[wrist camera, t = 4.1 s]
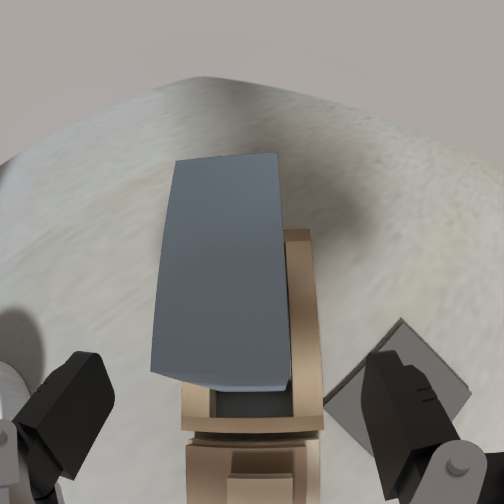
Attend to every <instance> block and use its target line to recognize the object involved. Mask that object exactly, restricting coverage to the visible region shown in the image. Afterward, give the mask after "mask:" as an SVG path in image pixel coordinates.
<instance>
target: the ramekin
mask: <svg viewBox="0 0 504 504" xmlns="http://www.w3.org/2000/svg"><path fill="white" fill-rule="evenodd" d="M29 399H30V394H29V391H28V389H27V386H26V384H25V383H24V381H23V379H22V377H21V376H20V375H19V374H18V372H17V371H16V370H15V369H14V368H12V367H11V366H9V365H8V364H6V363H4V362H2V361H0V419H5V420H9V421H12V420H13V419H14V417H15V416H16V415H17V414H18V412H19V411H20V410H21V409H22V407H23V406H24V405H25V404H26V402H27V401H28V400H29Z"/></svg>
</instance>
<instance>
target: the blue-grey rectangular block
mask: <svg viewBox="0 0 504 504" xmlns="http://www.w3.org/2000/svg"><path fill="white" fill-rule="evenodd" d="M150 371H151V372H154V373H157V374H160V375H163V376H167V377H170V378H173V379H177V380H180V381H184V382H187V383H191V384H195V385H198V386H202V387H206V388H210V389H214V390H218V391H222V392H272V391H285V388H286V385H287V382H288V378H289V375H290V355H289V331H288V310H287V290H286V273H285V256H284V241H283V226H282V212H281V198H280V186H279V173H278V161H277V152H273V153H256V154H242V155H229V156H218V157H207V158H197V159H188V160H180V161H176V163H175V169H174V174H173V180H172V185H171V191H170V197H169V203H168V209H167V215H166V222H165V229H164V236H163V243H162V250H161V258H160V266H159V274H158V283H157V293H156V302H155V313H154V325H153V337H152V352H151V369H150Z"/></svg>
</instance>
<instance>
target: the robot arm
mask: <svg viewBox="0 0 504 504" xmlns="http://www.w3.org/2000/svg"><path fill="white" fill-rule="evenodd" d="M114 402H115V394H114V389H113V387H112V384H111V382H110V379H109V377H108V374H107V371H106V369H105V366H104V363H103V360H102V358H101V356H100V355H99V354H97V353H91V352H82V351H76V352H74V353H73V354H72V355H71V357H70V358H69V359H68V360H67V361H66V362H65V364H63V365H62V366H60V367H59V368H57V369H56V370H54V371H53V372H51V374H50V375H49V376H48V377H47V378H46V379H45V381H44V384H41V385H40V387H39V388H38V389H37V392H35V393H34V394H33V395H32V396H31V397H30V399H29V400H28V401H27V402H26V404H25V405H24V406H23V407H22V409H21V410H20V411H19V412H18V414H17V415H16V416H15V417H14V419H13V420H12V421H9V420H5V419H0V504H65V503H64V499H63V495H62V491H61V487H60V485H59V483H58V482H57V480H58V478H59V476H62V477H65V478H68V479H70V480H73V481H74V479H75V477H76V475H77V473H78V472H79V470H80V468H81V466H82V464H83V462H84V460H85V458H86V456H87V454H88V453H89V451H90V449H91V447H92V445H93V443H94V441H95V439H96V438H97V436H98V434H99V432H100V430H101V428H102V427H103V425H104V423H105V421H106V419H107V417H108V416H109V414H110V412H111V410H112V408H113V406H114ZM361 410H362V414H363V418H364V421H365V425H366V428H367V432H368V435H369V439H370V443H371V446H372V450H373V454H374V458H375V462H376V465H377V469H378V473H379V477H380V481H381V485H382V489H383V494H384V498H385V501H386V500H391V499H395V498H398V499H399V503H400V504H504V452H499V453H484V452H483V451H482V449H481V448H479V447H478V446H477V445H475V444H474V443H472V442H469V441H464V440H461V439H460V437H459V436H458V434H457V432H456V430H455V428H454V426H453V424H452V422H451V420H450V418H449V417H448V415H447V413H446V411H445V409H444V407H443V406H442V404H441V402H440V400H438V396H437V395H436V393H435V391H434V389H432V386H431V384H430V382H429V381H428V379H427V377H426V375H425V374H424V373H423V372H421V371H420V370H419V369H417V368H416V367H415V366H413V365H405V366H404V365H403V363H402V361H401V359H400V358H399V356H398V354H397V352H396V351H395V350H387V351H379V352H371V353H369V354H368V355H367V359H366V366H365V372H364V378H363V384H362V390H361Z"/></svg>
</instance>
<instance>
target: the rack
mask: <svg viewBox="0 0 504 504" xmlns="http://www.w3.org/2000/svg"><path fill="white" fill-rule="evenodd" d="M283 241H284V256H285V258H286V275H287V292H288V311H289V332H290V355H291V383H292V416H274V417H219V416H217V390H214V389H210V388H206V387H202V386H198V385H195V384H191V383H187V382H184V381H182V412H181V430H186V431H200V432H219V433H281V432H301V431H315V430H324V422H323V394H322V373H321V355H320V339H319V325H318V313H317V300H316V289H315V278H314V268H313V258H312V249H311V240H310V231H309V229H302V230H283ZM319 488H320V463H319V439H318V438H317V437H312V438H298V439H275V440H228V439H206V438H192V439H189V440H188V445H186V490H187V504H319Z"/></svg>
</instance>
